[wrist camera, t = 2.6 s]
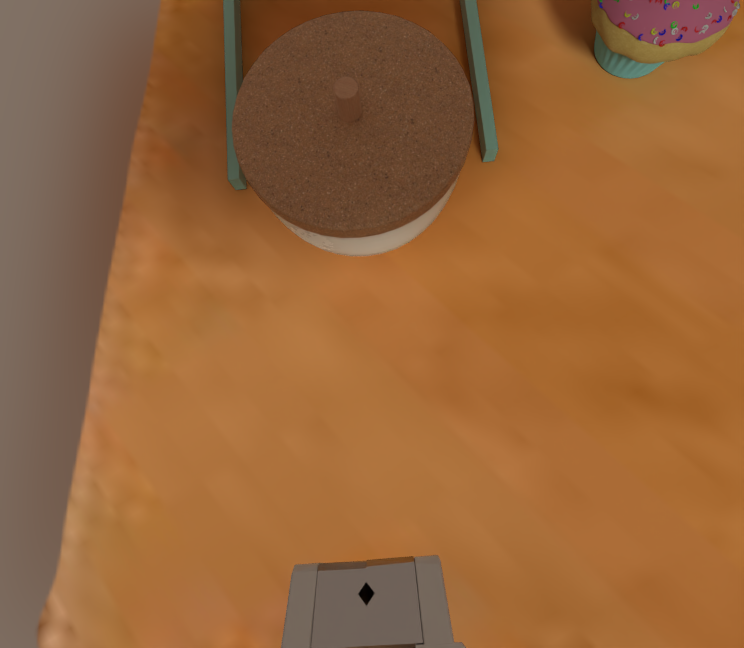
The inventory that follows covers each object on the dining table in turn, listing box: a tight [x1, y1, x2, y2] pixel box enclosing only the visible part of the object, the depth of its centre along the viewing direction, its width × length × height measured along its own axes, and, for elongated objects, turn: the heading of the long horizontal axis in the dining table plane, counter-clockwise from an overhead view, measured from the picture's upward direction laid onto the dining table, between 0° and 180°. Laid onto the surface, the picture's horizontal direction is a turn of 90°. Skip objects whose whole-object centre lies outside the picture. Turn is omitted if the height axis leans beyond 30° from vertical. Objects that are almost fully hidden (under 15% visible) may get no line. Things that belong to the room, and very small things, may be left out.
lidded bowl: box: [232, 11, 474, 256], centre depth 27 cm, size 13×13×11 cm
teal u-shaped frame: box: [223, 0, 498, 190], centre depth 33 cm, size 18×19×2 cm
